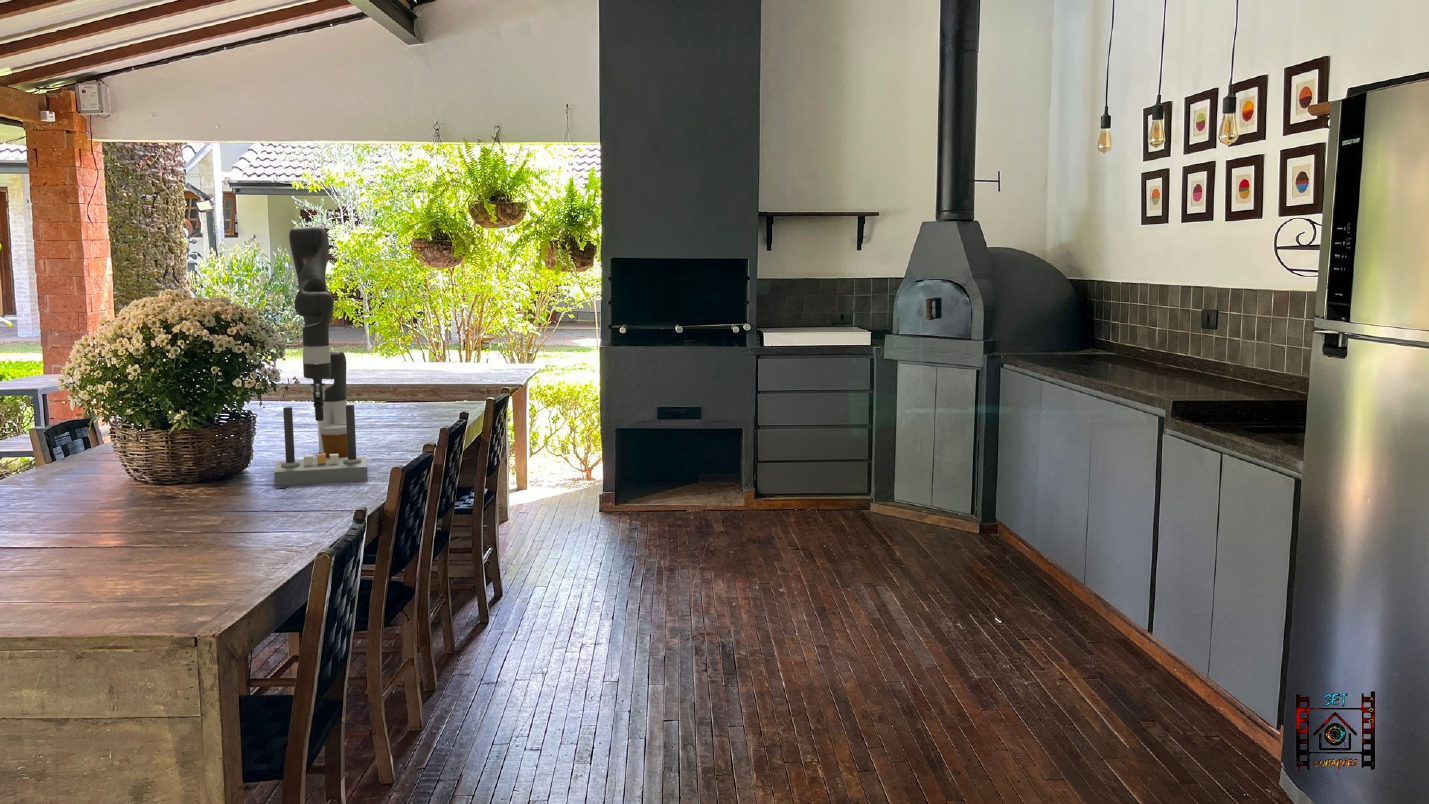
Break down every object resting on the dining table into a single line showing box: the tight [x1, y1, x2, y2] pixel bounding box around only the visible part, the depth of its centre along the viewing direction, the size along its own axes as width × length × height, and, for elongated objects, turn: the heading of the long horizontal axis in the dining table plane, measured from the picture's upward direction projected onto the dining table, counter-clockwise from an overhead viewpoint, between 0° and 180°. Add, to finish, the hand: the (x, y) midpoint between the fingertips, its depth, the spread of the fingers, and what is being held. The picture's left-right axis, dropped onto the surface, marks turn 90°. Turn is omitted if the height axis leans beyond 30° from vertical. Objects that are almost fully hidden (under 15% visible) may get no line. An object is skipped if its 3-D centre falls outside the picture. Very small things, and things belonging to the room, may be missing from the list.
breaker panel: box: [273, 454, 368, 487], centre depth 316 cm, size 16×25×7 cm, turn 109°
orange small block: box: [316, 453, 326, 464], centre depth 315 cm, size 2×2×3 cm
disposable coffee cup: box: [319, 424, 348, 459], centre depth 334 cm, size 10×10×12 cm
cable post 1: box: [281, 406, 300, 467], centre depth 312 cm, size 5×5×17 cm
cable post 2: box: [343, 404, 361, 464], centre depth 317 cm, size 5×5×17 cm
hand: (319, 420), depth 314 cm, fingers closed
